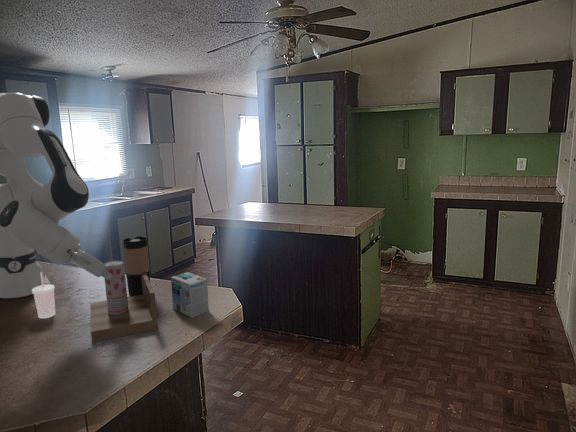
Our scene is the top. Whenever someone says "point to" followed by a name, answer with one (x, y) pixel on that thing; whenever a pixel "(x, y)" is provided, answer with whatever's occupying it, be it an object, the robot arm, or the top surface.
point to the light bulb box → (190, 294)
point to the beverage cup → (44, 299)
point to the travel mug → (136, 263)
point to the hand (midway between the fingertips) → (102, 273)
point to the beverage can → (116, 288)
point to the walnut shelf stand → (125, 315)
